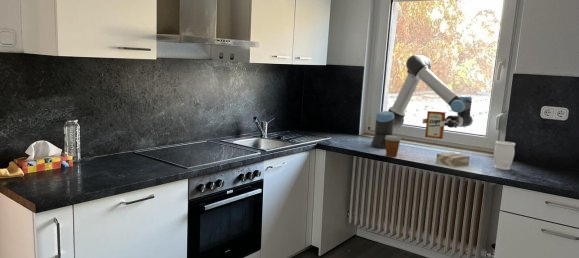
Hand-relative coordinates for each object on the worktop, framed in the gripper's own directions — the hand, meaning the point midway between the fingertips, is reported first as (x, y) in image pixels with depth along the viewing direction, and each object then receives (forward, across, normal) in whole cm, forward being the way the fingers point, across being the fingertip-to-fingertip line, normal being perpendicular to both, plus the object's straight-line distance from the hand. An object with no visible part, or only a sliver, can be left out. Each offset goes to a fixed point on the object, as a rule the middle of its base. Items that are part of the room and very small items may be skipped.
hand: (431, 122), depth 266 cm
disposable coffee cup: (+14, +16, -22) cm, 31 cm away
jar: (-22, -34, -22) cm, 46 cm away
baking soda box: (-4, 0, -9) cm, 10 cm away
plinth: (-4, -14, -22) cm, 26 cm away
